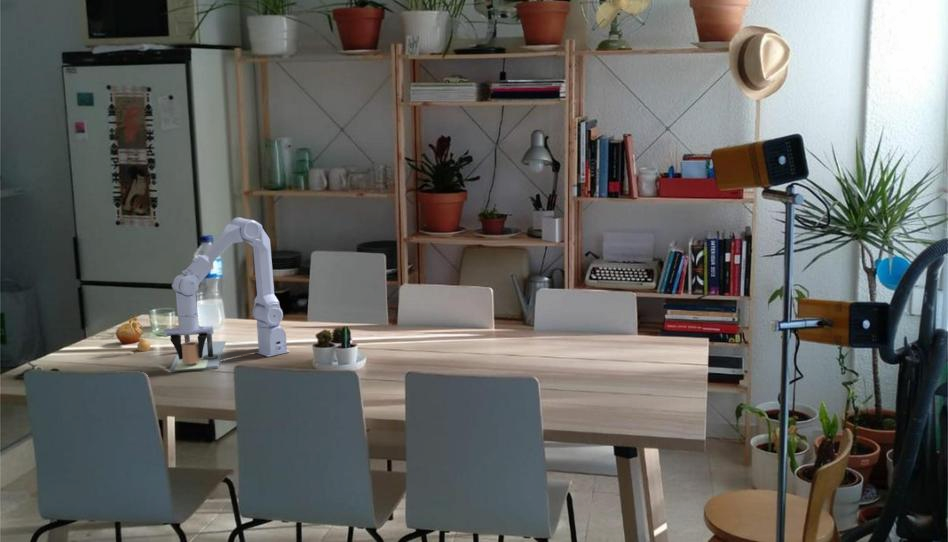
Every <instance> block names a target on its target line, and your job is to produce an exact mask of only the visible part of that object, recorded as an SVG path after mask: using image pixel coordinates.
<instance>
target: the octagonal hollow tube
mask: <svg viewBox="0 0 948 542" xmlns="http://www.w3.org/2000/svg"><path fill="white" fill-rule="evenodd" d="M181 352H182V362H183V363H185V364H192V363H197V362H199V361H200V358H199V344H198V341H190V342H185V341H184V342H182V343H181Z"/></svg>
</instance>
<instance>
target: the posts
mask: <svg viewBox="0 0 948 542" xmlns="http://www.w3.org/2000/svg"><path fill="white" fill-rule="evenodd" d="M183 336H184V343H185V342H191V337H190V336H191V335H183ZM212 336H213V334H208V335H207V338H206V342H207V350H208V355H205V356H203V358H204V359H205V360H207V359H208V360H212V359H216V358H218V355H217V354H213V346H212V342H213V337H212Z"/></svg>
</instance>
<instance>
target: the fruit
mask: <svg viewBox="0 0 948 542" xmlns="http://www.w3.org/2000/svg"><path fill="white" fill-rule="evenodd" d="M137 327H139V329H141V328H140V327H141V326H140V325H139V324H137ZM132 328H133V327H132ZM133 330H134V328H133ZM134 332H135V331H134ZM138 335H139V334H137V333H136V332H135V334H133V331H132V329H131V328H130V323H129V322H126V323H123V324H122V325H120V326H119V327H118V328H117V329H116V332H115V336H116V338H117V340H118V341H119V342H120V344H121V345H123V346H126V345H128V344H136V343H137V344H138V343H139V342H140V341H139V339H138V337H137V336H138Z"/></svg>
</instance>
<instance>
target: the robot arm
mask: <svg viewBox="0 0 948 542" xmlns="http://www.w3.org/2000/svg"><path fill="white" fill-rule="evenodd" d="M243 242H246V243H247V244H249V245H250V246H251V247H252V249H253V261H254V272H255V273H254V274H255V283H256V284H255V286H256V296H255V298H254V299H253V300H254V301H253V302H254V305H253V309H252V317H253V318H254V319H255V320H256V329H257V347H258V348H257V349H258V350H256V351H255V353H257V354H259V355H263V356H265V357H267V358H268V357H273V356H278V355H281V354H286V353H290V350H289V349H288V344H287V334H286V331H285V330H284V328H282V327H281V322H282V320H283V318H284V312H283V309H282V308H281V306H280V301H279V299H278V297H277V296H276V295H275V286H274V276H273V275H274V273H273V262H272V247H271V239H270V237H269V236H268V234H267V233H266V232H265V230H264V228H263V225H262V224H261V223H259V221H256V220H255V219H248V218H243V217H241V216H240V217H235V218H233V219H232V220H231V221H230V223H228V224H227V225H226V226H225V228H224V230H222V232H221V234H220V235H219V236H218V238H217V239H216V240H215V241H214V243H212V245H211V246H210V247H209V249H208V250H207V251H206V252H205V254H203V255H202V254H201V255H197V257H195V256H194V257H192V259H191V260H192V262H191V263H190V265H188V267H187V268H186V269H184V270H182V271H181V273H182V274H179V275H177V276H175V278H174V279H173V282H172V284H171V288H172V289H173V291H174V292H175V296H176V311H177V324H178V327H174V328H165V329H163V337H164V338H168V337H170V338H169V339H170V342H171V344H172V345H173V347H174V348H175V351H176V352H177V354H178V356H179V360H180V359H182V352H181V344H182V336H184V335H190V336H193V335H197V342H198V344H199V358H202V357H203V348H204V344H205V343H206V341H207V335H208V334H212V335H214V333H215V330H214V329H215V327H214V326H202V325H201V326H199V318H198V307H197V297H196V296H197V295H196V293H197V292H198V290H199V286H200V283H201V282H202V281H203V280H205V278H206V277H207V275H209V274H210V272H211V271H212V270H213V269H214V262H215V261H216V260H217V259H218V258H219V257H220V256H221V255H222V254H223V253H224V252H225V251H226V250H227V249H228V248H229V247H230V246H231V245H232V244H238V243H243Z"/></svg>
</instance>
